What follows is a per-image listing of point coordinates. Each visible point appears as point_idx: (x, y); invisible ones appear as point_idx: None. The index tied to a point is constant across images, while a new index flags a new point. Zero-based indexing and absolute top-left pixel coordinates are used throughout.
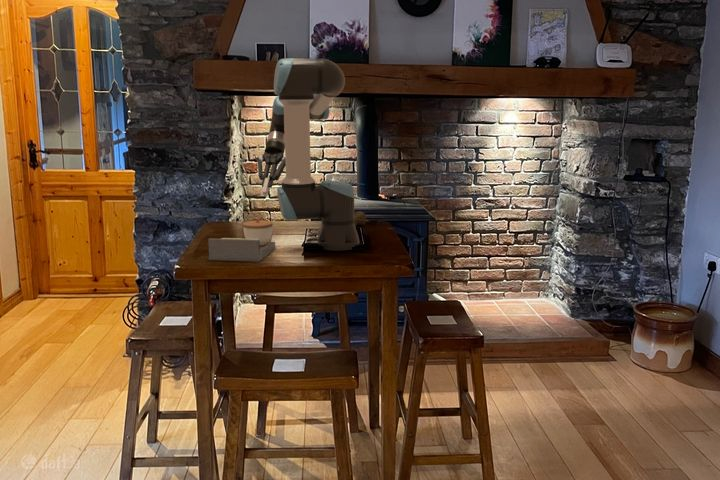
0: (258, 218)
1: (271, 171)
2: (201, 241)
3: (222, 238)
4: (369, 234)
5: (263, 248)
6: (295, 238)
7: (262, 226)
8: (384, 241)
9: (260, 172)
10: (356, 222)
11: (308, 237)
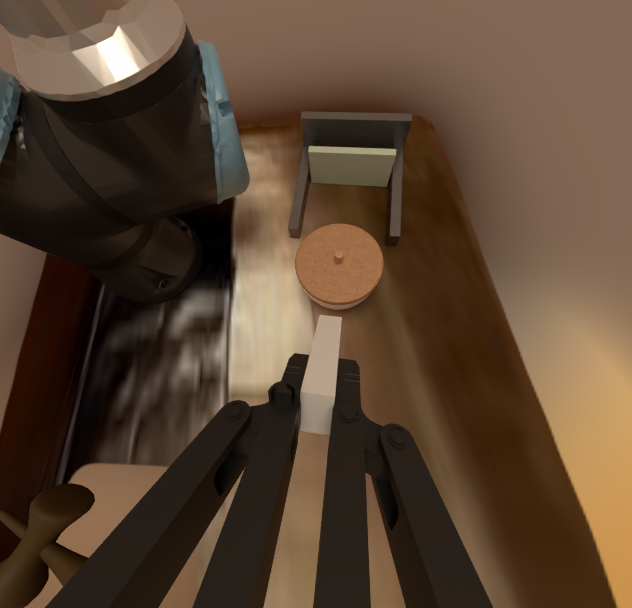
0: (335, 253)
1: (267, 475)
2: (494, 306)
3: (392, 151)
4: (60, 391)
5: (303, 176)
6: (253, 342)
7: (317, 229)
8: (53, 309)
9: (406, 481)
10: (47, 489)
11: (220, 354)
